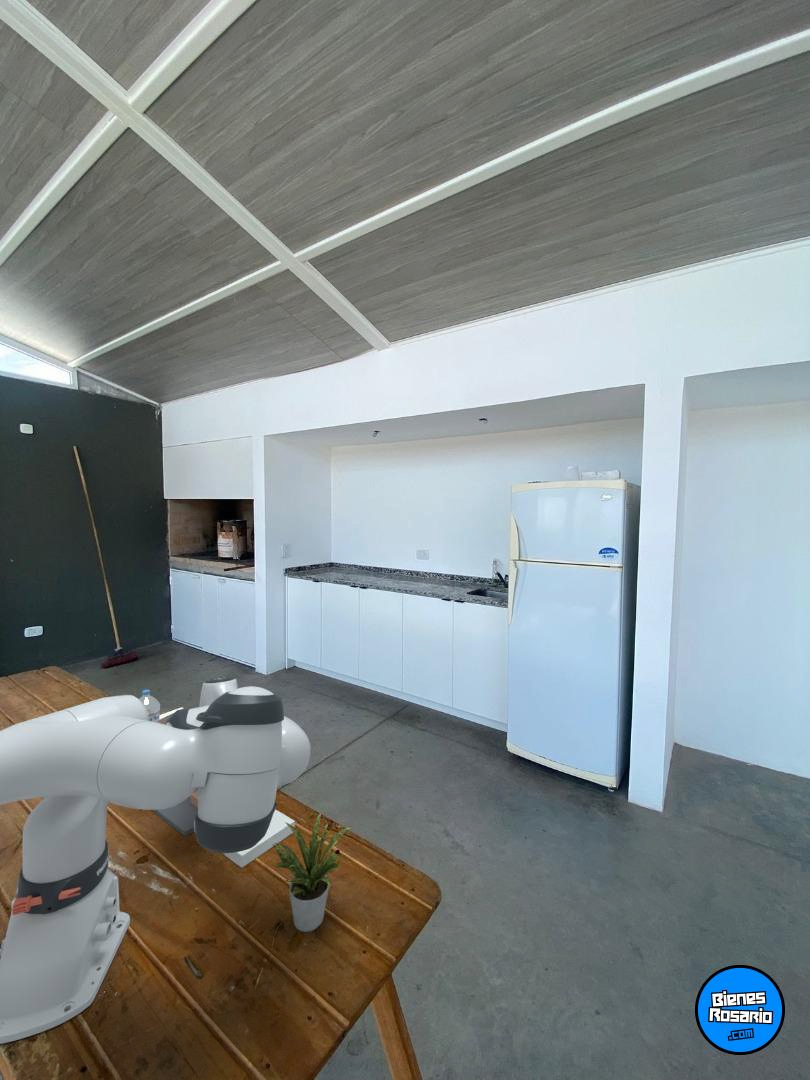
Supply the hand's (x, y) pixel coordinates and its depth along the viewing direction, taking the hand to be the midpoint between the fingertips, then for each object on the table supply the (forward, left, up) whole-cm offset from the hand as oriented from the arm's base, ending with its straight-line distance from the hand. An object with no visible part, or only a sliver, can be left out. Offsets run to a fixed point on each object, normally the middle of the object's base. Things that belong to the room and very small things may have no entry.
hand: (217, 799), depth 110 cm
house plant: (-37, -17, -4) cm, 40 cm away
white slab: (-9, -6, -3) cm, 12 cm away
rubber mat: (+5, +3, -3) cm, 7 cm away
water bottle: (+20, +18, -4) cm, 28 cm away
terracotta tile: (+3, +1, -2) cm, 4 cm away
